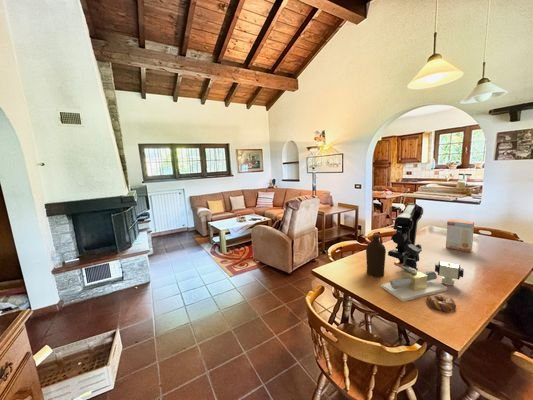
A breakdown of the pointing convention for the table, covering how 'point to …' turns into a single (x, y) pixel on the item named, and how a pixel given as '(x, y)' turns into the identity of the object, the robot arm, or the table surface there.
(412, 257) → the robot arm
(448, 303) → the pretzel
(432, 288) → the mount board
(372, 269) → the olive oil
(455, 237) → the cracker box
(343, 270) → the table surface
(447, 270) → the pneumatic valve
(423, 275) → the valve body
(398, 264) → the valve lever
